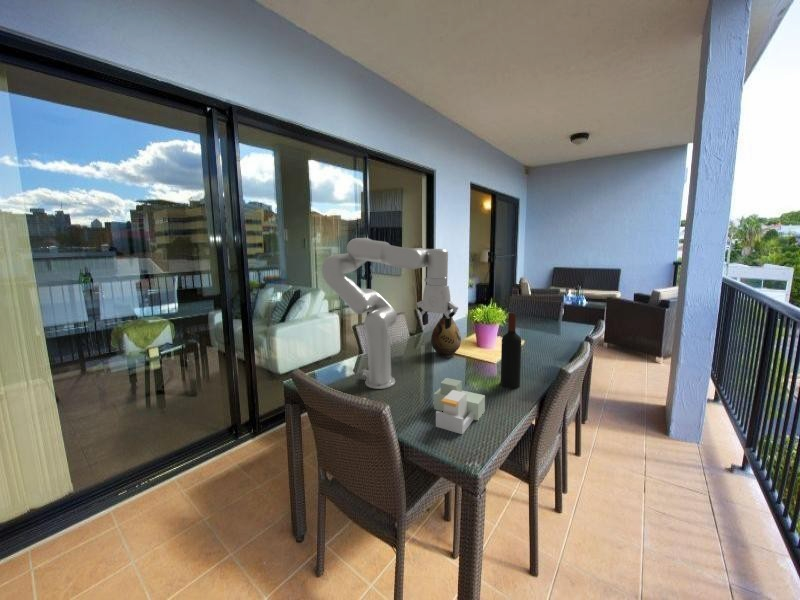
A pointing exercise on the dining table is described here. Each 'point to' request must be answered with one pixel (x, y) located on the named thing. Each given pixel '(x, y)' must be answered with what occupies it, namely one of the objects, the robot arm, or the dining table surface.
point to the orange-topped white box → (455, 403)
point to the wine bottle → (511, 356)
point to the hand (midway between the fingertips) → (436, 326)
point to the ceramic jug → (445, 338)
